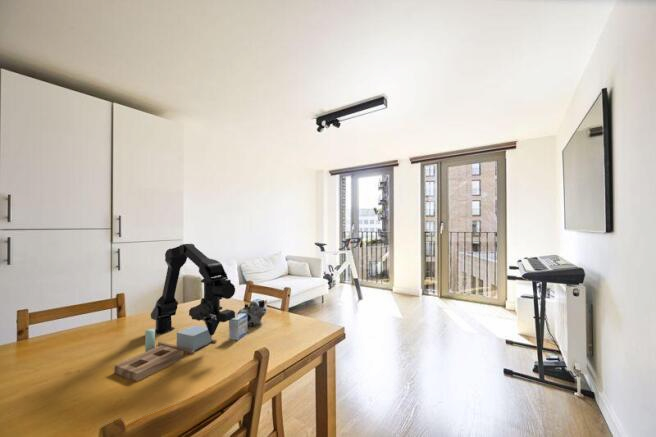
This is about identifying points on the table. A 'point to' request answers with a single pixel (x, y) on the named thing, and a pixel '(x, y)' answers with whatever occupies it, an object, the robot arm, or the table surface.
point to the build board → (148, 362)
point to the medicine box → (238, 326)
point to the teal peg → (149, 339)
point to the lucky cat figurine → (254, 311)
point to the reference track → (183, 348)
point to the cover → (193, 337)
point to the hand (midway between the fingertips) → (211, 335)
